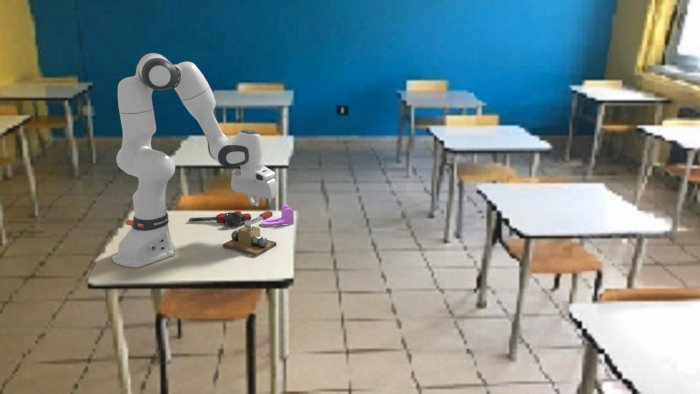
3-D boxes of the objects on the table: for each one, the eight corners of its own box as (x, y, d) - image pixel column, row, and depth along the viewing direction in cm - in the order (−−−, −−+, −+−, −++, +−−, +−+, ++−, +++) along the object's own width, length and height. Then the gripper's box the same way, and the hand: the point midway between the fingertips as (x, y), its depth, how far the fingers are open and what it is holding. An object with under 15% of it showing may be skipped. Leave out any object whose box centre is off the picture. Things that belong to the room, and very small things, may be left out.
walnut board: (256, 257, 220) (256, 253, 220) (222, 247, 228) (222, 244, 227) (276, 245, 230) (276, 242, 230) (243, 237, 238) (243, 233, 237)
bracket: (290, 219, 257) (289, 204, 255) (293, 224, 252) (293, 208, 250) (260, 223, 253) (259, 207, 250) (263, 227, 248) (262, 211, 245)
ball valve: (260, 250, 223) (260, 233, 221) (229, 242, 230) (228, 225, 228) (270, 245, 227) (269, 228, 225) (239, 237, 234) (238, 221, 232)
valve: (255, 219, 262) (249, 227, 247) (196, 221, 263) (186, 229, 248) (254, 205, 261) (248, 212, 246) (195, 207, 262) (185, 214, 247)
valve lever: (249, 228, 224) (249, 223, 224) (243, 226, 226) (243, 221, 225) (272, 216, 236) (272, 211, 236) (267, 215, 238) (267, 210, 237)
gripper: (226, 169, 234) (228, 203, 239) (268, 177, 225) (270, 212, 229) (236, 165, 239) (239, 198, 244) (278, 173, 230) (280, 207, 234)
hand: (254, 205), depth 237 cm, fingers closed
